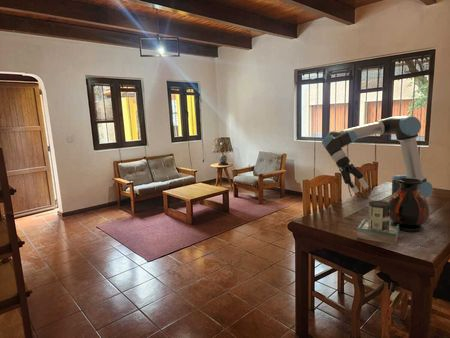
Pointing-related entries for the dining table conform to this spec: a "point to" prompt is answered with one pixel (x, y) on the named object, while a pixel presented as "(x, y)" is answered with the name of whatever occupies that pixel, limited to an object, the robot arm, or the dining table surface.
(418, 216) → the amphora vase
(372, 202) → the coffee can
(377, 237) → the clear glass tray
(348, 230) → the dining table surface
